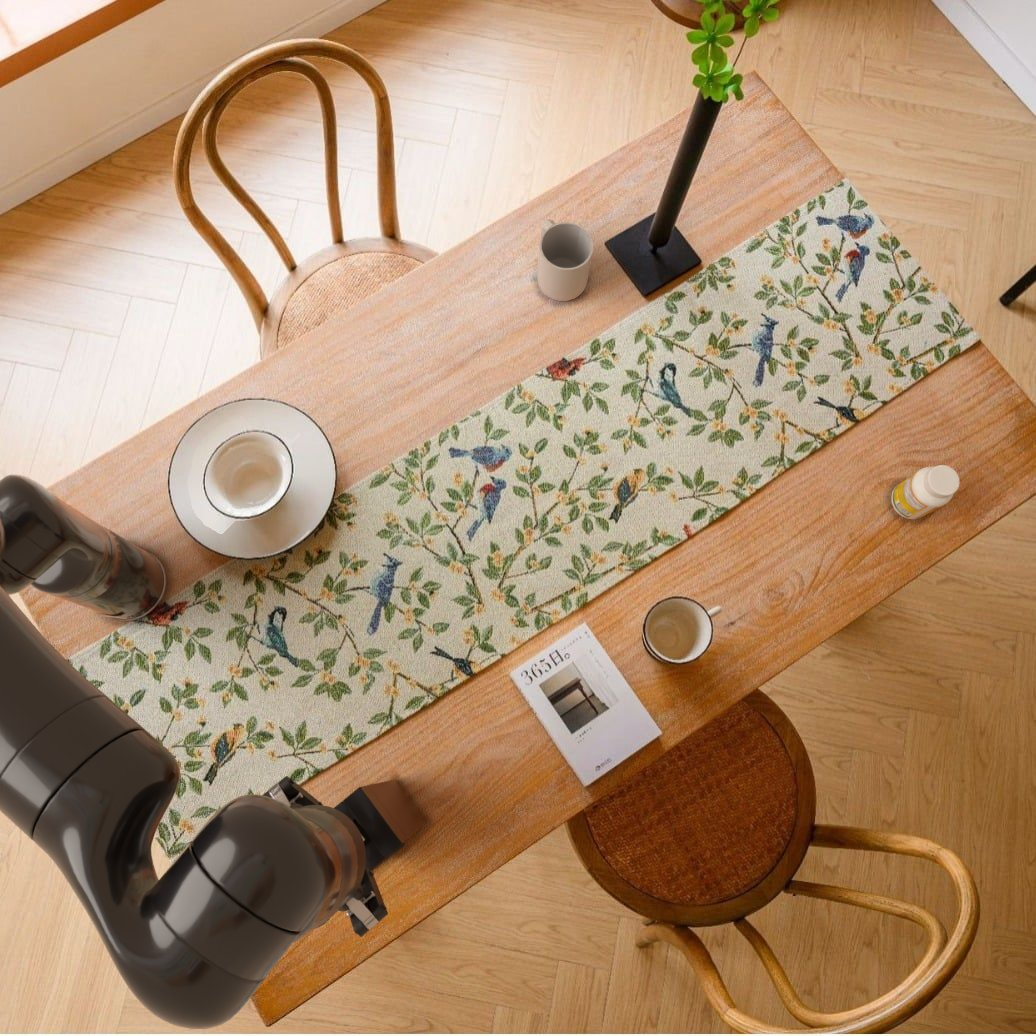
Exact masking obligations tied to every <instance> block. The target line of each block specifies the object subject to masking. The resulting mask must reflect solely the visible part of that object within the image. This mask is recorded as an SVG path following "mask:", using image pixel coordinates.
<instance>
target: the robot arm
mask: <svg viewBox="0 0 1036 1036" xmlns="http://www.w3.org/2000/svg"><path fill="white" fill-rule="evenodd" d="M29 586H32V587H33V588H35V589H36V590H38V591H40V592H41V593H45V594H47V595H50V596H53V597H55V598H58V599H61V600H64V601H67V602H68V603H69V602H70V603H73V604H75V605H77V606H80V607H83V608H86V609H89V610H91V611H94V612H96V613H99V614H96V613H94V614H93V615H94V616H97V617H103V618H104V617H106V618H111V619H113V620H116V621H119V622H120V621H121V622H132V621H136V620H140V619H141V618H145V617H146V616H148V615H149V614H151V613H152V612H153V611H155V609H157V608H158V606H159V605H160V603H161V602H162V600H163V599H164V597H165V595H166V590H167V586H168V577H167V572H166V569H165V567H164V565H163V563H162V562H161V560H160V559H159V558H158V557H157V556H155V555H154V554H153V553H151V552H150V551H148V550H145V549H142V548H141V547H139V546H138V545H136V544H134V543H133V542H131V541H129V540H128V539H126V538H124V537H122V536H121V535H119V534H117V533H115V532H113V531H112V530H111V529H109V528H107V527H105V526H103V525H102V524H100V523H99V522H96V521H95V520H93V519H92V518H90V517H88V516H87V515H85V514H84V513H82V512H81V511H79V510H78V509H77V508H75V507H73V506H72V505H70V504H69V503H67V502H66V501H64V500H63V499H61V498H60V497H59V496H58V495H56V494H55V493H53V492H52V491H51V490H49V489H48V488H47V487H45V486H44V485H42V484H40V482H38V481H36V480H34V479H32V478H31V477H29V476H26V475H22V474H9V475H6V476H4V477H3V478H1V479H0V812H1V813H2V814H3V815H4V816H5V817H6V818H7V819H8V820H10V822H11V823H13V824H14V825H15V826H16V827H17V828H18V829H19V830H20V831H22V832H23V833H24V834H25V835H26V836H27V837H29V839H30V840H31V841H33V842H34V843H35V844H36V845H37V846H38V847H39V848H40V849H41V850H42V851H43V852H44V853H45V854H46V855H48V857H49V858H50V859H51V860H52V861H53V863H54V864H55V866H56V867H57V868H58V869H59V870H60V872H61V874H62V875H63V877H64V879H65V880H66V881H67V883H68V885H69V886H70V887H71V889H72V891H73V893H74V894H75V896H76V897H77V899H78V900H79V902H80V903H81V906H82V907H83V909H84V910H85V912H86V914H87V915H88V917H89V919H90V921H91V922H92V924H93V926H94V928H95V930H96V932H97V933H98V936H99V937H100V939H101V942H102V943H103V945H104V948H105V949H106V951H107V953H108V955H109V957H110V959H111V961H112V963H113V964H114V967H115V968H116V970H117V972H118V973H119V975H120V977H121V978H122V979H123V981H124V983H125V985H126V986H127V987H128V990H130V992H131V993H132V994H133V995H134V997H135V998H136V999H137V1000H138V1002H139V1003H140V1004H141V1005H142V1006H143V1007H144V1008H145V1009H146V1010H147V1011H149V1012H150V1013H151V1014H152V1015H154V1016H156V1017H157V1018H158V1019H160V1020H161V1021H163V1022H166V1023H167V1024H169V1025H173V1026H176V1027H179V1028H184V1029H189V1030H209V1029H212V1028H217V1027H220V1026H222V1025H224V1024H226V1023H227V1022H229V1021H230V1020H231V1019H232V1018H234V1017H235V1016H236V1015H237V1014H238V1013H240V1011H241V1010H242V1009H243V1008H244V1006H246V1004H247V1003H248V1002H249V1000H251V998H252V996H253V995H254V994H255V992H256V991H257V990H258V989H259V988H260V986H261V984H262V983H263V982H264V981H265V980H266V978H267V977H268V975H269V974H270V973H271V972H272V970H273V969H274V968H275V967H276V965H277V964H278V963H279V962H280V960H281V959H282V957H283V956H284V955H285V954H286V952H287V951H288V950H289V949H290V947H291V946H292V945H293V944H294V943H296V942H298V941H300V940H301V939H302V938H304V937H305V936H306V935H308V934H309V933H310V932H312V931H313V930H315V929H318V928H320V927H322V926H324V925H326V924H327V923H328V921H330V919H332V917H333V916H334V915H335V914H336V913H338V912H341V913H342V912H343V913H344V912H346V915H347V917H348V918H349V920H350V922H351V926H352V928H353V930H352V931H353V932H354V933H355V934H356V935H358V936H359V937H360V938H362V937H363V936H365V935H366V934H367V933H369V931H370V930H372V929H373V928H374V927H375V926H377V924H378V923H380V922H381V921H382V920H383V919H384V918H386V917H387V916H388V915H389V912H388V910H387V909H388V908H387V907H386V904H385V902H384V898H383V897H382V894H381V891H380V889H379V886H378V883H377V880H376V878H375V873H374V872H373V871H372V870H369V869H368V868H365V865H366V850H365V845H364V841H363V838H362V836H361V833H360V832H359V830H358V828H357V827H356V825H355V824H354V823H353V821H352V820H351V819H350V818H349V817H347V816H346V815H345V814H344V813H342V812H340V811H339V810H337V809H334V807H331V806H327V805H324V804H323V803H322V801H319V800H318V799H317V798H316V797H314V796H313V795H312V794H310V793H309V792H308V791H307V790H305V789H304V788H303V787H302V786H301V785H300V784H298V783H297V782H296V781H295V780H294V779H293V778H292V777H289V776H288V775H285V776H284V777H283V778H282V779H280V780H279V781H277V782H276V783H275V784H274V785H272V786H271V787H270V788H269V789H268V790H267V791H265V792H264V793H263V794H256V793H255V794H254V793H249V794H244V795H240V796H238V797H236V798H234V799H232V800H230V801H229V802H227V803H225V804H224V805H223V806H222V807H220V808H219V809H218V810H217V811H216V812H215V813H213V815H212V816H211V817H209V819H208V820H206V822H205V823H204V824H203V825H202V827H201V828H200V829H199V831H198V832H196V834H195V835H194V837H193V838H192V840H191V841H189V842H188V844H187V845H186V846H185V848H183V850H182V851H181V852H180V854H179V855H178V856H177V857H176V859H174V861H173V862H172V864H170V866H169V867H168V868H167V870H166V871H165V872H164V873H163V874H162V876H161V877H160V878H159V877H158V875H157V870H156V867H155V865H154V860H153V856H152V855H153V854H152V847H153V846H152V845H153V841H154V837H155V834H156V832H157V829H158V827H159V826H160V823H161V821H162V819H163V817H164V815H165V813H166V812H167V809H168V808H169V806H170V804H171V803H172V801H173V798H174V796H175V794H176V792H177V790H178V786H179V783H180V779H181V768H180V764H179V762H178V761H177V759H176V757H175V756H174V755H173V753H171V752H170V750H169V749H168V748H167V747H166V746H165V745H164V744H163V743H161V741H159V740H158V739H157V738H156V737H155V736H153V735H152V734H151V733H150V732H149V731H147V730H146V729H145V728H144V727H143V726H142V725H141V724H140V723H139V722H137V721H136V720H135V719H134V718H133V717H131V716H130V715H129V714H128V713H127V712H126V711H125V710H124V709H122V708H121V707H120V706H119V705H118V704H116V703H115V702H114V701H113V700H112V699H111V698H110V697H108V696H107V695H106V694H105V693H104V692H103V691H101V690H100V689H99V688H98V687H97V686H96V685H94V683H93V682H91V681H90V680H89V679H87V677H86V676H84V675H83V674H82V673H81V672H80V671H79V670H78V669H76V667H74V666H73V665H72V664H71V663H70V662H69V661H68V660H67V659H66V658H65V657H64V656H63V655H62V654H61V653H60V652H59V651H58V650H57V649H56V648H55V647H54V645H52V644H51V643H50V642H49V641H48V640H47V638H46V637H45V636H44V635H43V634H42V632H40V631H39V629H38V628H37V627H36V626H35V624H33V622H32V621H31V620H30V619H29V618H28V617H27V615H26V614H25V613H24V612H23V611H22V610H21V609H20V607H19V606H18V605H17V603H16V602H15V601H14V600H13V599H12V598H11V596H12V595H15V594H18V593H20V592H22V591H23V590H25V589H27V588H28V587H29Z"/></svg>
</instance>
